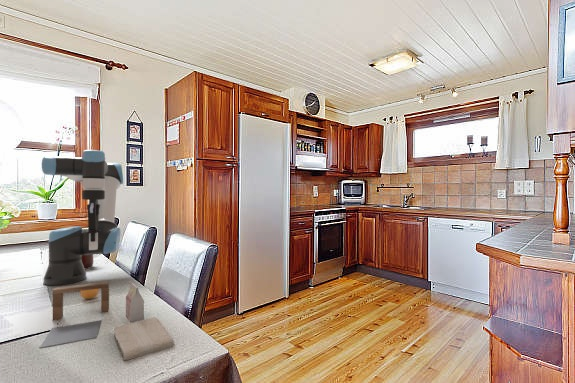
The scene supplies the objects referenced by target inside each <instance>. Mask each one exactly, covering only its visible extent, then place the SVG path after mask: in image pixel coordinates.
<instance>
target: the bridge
mask: <svg viewBox="0 0 575 383" xmlns="http://www.w3.org/2000/svg"><path fill="white" fill-rule="evenodd" d="M92 289H99V290H100V292H101V293H100V314H106V313H109V311H110V281H101V282H93V283H92V282H91V284H89V283H83V284H75V285H65V286H57V287H56V286H55V287H54V288H53V289H52V322H53V321H61V320H62V318H63V317H64V294H67V293H74V292H75V293H76V292H81V291H84V290H92Z"/></svg>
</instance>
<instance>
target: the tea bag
mask: <svg viewBox="0 0 575 383" xmlns="http://www.w3.org/2000/svg"><path fill="white" fill-rule="evenodd" d="M125 317H126V318H127V320H128V322H129V323H132V322H140V321H143V320H145V299H144V298H143V296H142V295H141V293H140V291H139V288H138V287H137V286H136V285H135V284H134V283H131V284H130V287H129V290H128V292H127V294H126V296H125Z"/></svg>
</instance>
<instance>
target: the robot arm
mask: <svg viewBox="0 0 575 383" xmlns="http://www.w3.org/2000/svg"><path fill="white" fill-rule="evenodd" d="M122 167H123V166H122V165H121V163H118V162H107V161H106V154H105V152H104V151H103V150H96V149H85V150H83V151H82V157H78V156H77V157H76V156H74V157H72V156H55V155H51V156H49V155H48V156H44V157H42V159H41V172H42V173H43V174H44V175H47V176H60V177H61V176H63V177H66V178H67V179H68V180H69V179H70V180H71V181H74V182H77V183H80V184H82V185H81V186H82V189H83V190H82V191H81V199H82V200H88V204H87V205H86V210H87V222H88V223H87V228H85V229H84V228H83V227H82V226H81V225H77V226H76V225H75V226H68V227H62V228H57V229H54V230H52V231H50V232H49V234H48V242H47V243H48V265H47V268H46V271H45V273H44V276H43V280H42V282H43V285H45V284H46V286H62V285H66V284H67V285H69V284H73V283H78V282H80V281H84V280H85V279H86V278H87V272H86V269H84V266H83V264H82V260H81V256H82V255H93V256H94V255H107V254H114V253H116V252H117V250H118V249H119V246H120V241H121V228H120V227H118V225H117V224H116V223H115V218H116V216H115V215H116V200H117V190H118V189H119V188H120V186H121V185H124V174H123V168H122Z"/></svg>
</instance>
